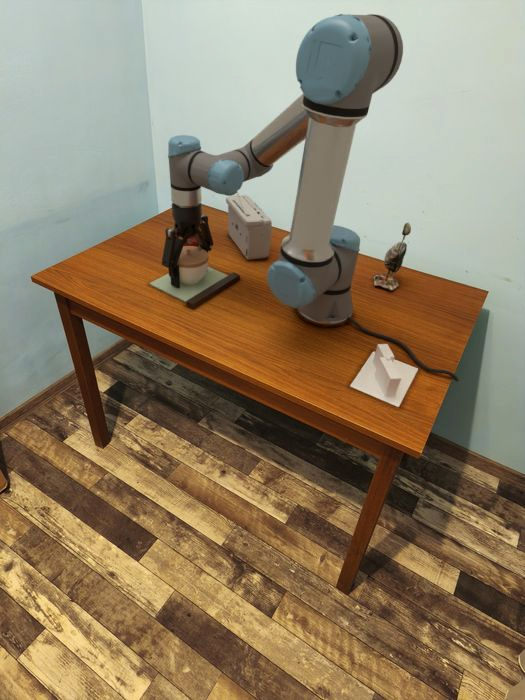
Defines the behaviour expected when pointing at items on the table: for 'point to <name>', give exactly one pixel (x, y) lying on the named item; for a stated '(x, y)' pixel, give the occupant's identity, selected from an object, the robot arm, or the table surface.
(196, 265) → the trinket box
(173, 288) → the mat
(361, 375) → the napkin holder
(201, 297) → the divider
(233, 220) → the radio
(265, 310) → the table surface
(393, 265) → the plant with pod
